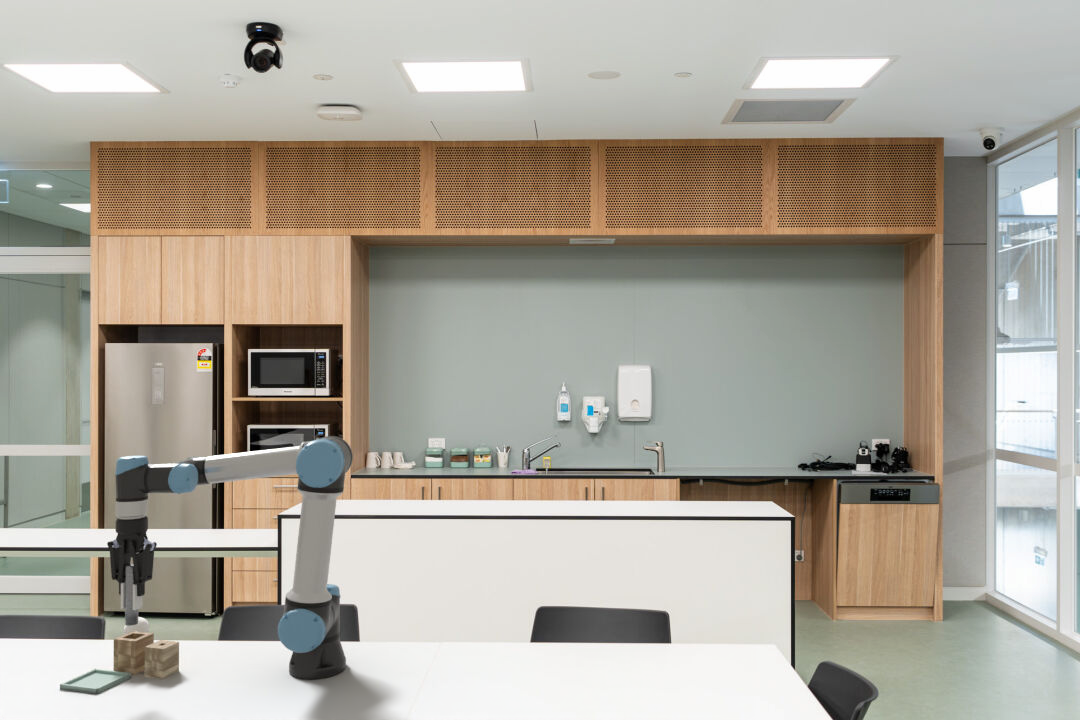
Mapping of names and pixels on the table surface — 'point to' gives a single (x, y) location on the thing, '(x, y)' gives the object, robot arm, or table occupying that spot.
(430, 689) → the table surface
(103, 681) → the tray
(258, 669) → the table surface
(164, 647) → the narrow-bore block
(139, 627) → the light bulb
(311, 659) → the robot arm
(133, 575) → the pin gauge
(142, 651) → the wide-bore block
